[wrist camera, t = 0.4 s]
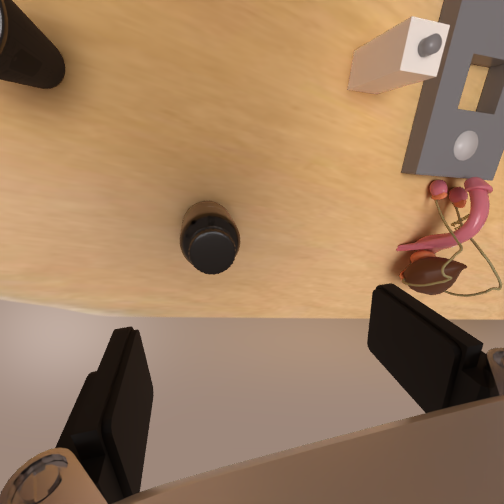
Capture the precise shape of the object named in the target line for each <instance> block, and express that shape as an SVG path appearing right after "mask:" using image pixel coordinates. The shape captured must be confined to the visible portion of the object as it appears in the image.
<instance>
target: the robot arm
mask: <svg viewBox="0 0 504 504" xmlns="http://www.w3.org/2000/svg"><path fill="white" fill-rule="evenodd" d="M367 344H368V347H369V350H370V351H371V352H372V353H373V354H374V355H375V357H376V358H377V359H378V360H379V361H380V362H381V363H382V365H383V366H384V367H385V368H386V369H387V370H388V371H389V372H390V373H391V375H392V376H393V377H394V378H395V379H396V380H397V381H398V382H399V384H400V385H401V386H402V387H403V388H404V389H405V390H406V391H407V392H408V394H409V395H410V396H411V397H412V398H413V399H414V400H415V401H416V403H417V404H418V405H419V406H420V407H421V408H422V409H423V410H424V411H425V414H421V415H418V416H414V417H410V418H406V419H402V420H398V421H394V422H390V423H386V424H382V425H379V426H375V427H371V428H367V429H364V430H360V431H356V432H352V433H348V434H345V435H340V436H337V437H333V438H330V439H325V440H322V441H318V442H314V443H310V444H307V445H303V446H299V447H295V448H291V449H288V450H284V451H281V452H277V453H273V454H269V455H266V456H262V457H258V458H255V459H251V460H247V461H243V462H240V463H236V464H232V465H228V466H225V467H221V468H218V469H215V470H211V471H207V472H204V473H200V474H197V475H193V476H190V477H186V478H183V479H180V480H176V481H173V482H169V483H166V484H163V485H160V486H157V487H154V488H151V489H148V490H145V491H142V492H140V486H141V478H142V472H143V464H144V457H145V451H146V444H147V436H148V430H149V422H150V416H151V409H152V402H153V385H152V381H151V377H150V373H149V369H148V365H147V360H146V356H145V352H144V348H143V344H142V340H141V336H140V332H139V330H134V329H133V328H132V327H126V328H120V329H115V330H114V331H113V334H112V336H111V338H110V341H109V343H108V346H107V348H106V351H105V353H104V355H103V358H102V360H101V363H100V365H99V367H98V370H97V371H95V372H91V373H90V374H89V375H88V376H87V378H86V380H85V383H84V385H83V387H82V389H81V391H80V394H79V396H78V398H77V400H76V403H75V405H74V407H73V409H72V412H71V414H70V416H69V419H68V421H67V423H66V425H65V427H64V430H63V432H62V434H61V436H60V439H59V441H58V443H57V445H56V447H55V448H54V449H50V450H47V451H45V452H42V453H40V454H38V455H36V456H35V457H33V458H31V459H30V460H28V461H27V462H26V463H25V464H24V465H23V466H21V467H20V468H19V469H18V470H17V471H16V472H15V473H14V474H13V475H12V476H11V478H10V479H9V480H8V482H7V483H6V485H5V486H4V488H3V490H2V491H1V494H0V504H504V348H493V349H490V350H489V351H488V352H487V354H485V353H484V352H482V351H481V350H482V347H483V343H482V342H480V341H479V340H477V339H476V338H474V337H473V336H471V335H470V334H468V333H467V332H465V331H464V330H462V329H461V328H459V327H458V326H456V325H455V324H453V323H452V322H450V321H449V320H447V319H446V318H444V317H443V316H441V315H440V314H438V313H437V312H435V311H434V310H432V309H431V308H429V307H427V306H426V305H424V304H423V303H421V302H420V301H418V300H417V299H415V298H414V297H412V296H411V295H409V294H408V293H406V292H405V291H403V290H402V289H400V288H399V287H397V286H396V285H394V284H392V283H391V284H384V285H378V286H377V287H376V289H375V290H374V291H373V294H372V304H371V313H370V323H369V332H368V342H367Z"/></svg>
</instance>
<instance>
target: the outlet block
mask: <svg viewBox="0 0 504 504" xmlns="http://www.w3.org/2000/svg"><path fill="white" fill-rule="evenodd" d="M439 23H443V24H448V25H450V27H449V31H448V35H447V39H446V42H445V46H444V50H443V54H442V58H441V62H440V65H439V69H438V73H437V77H434V78H431V79H427V80H424V83H423V87H422V91H421V95H420V99H419V103H418V107H417V111H416V115H415V119H414V123H413V127H412V131H411V135H410V139H409V143H408V147H407V151H406V155H405V159H404V163H403V167H402V171H401V173H409V174H419V175H431V176H443V177H455V178H471V177H480V178H482V179H483V180H492V181H493V178H494V175H495V172H496V170H497V167H498V164H499V161H500V158H501V156H502V153H503V150H504V0H444V2H443V6H442V10H441V14H440V18H439ZM470 64H474V65H480V66H485V67H490V68H489V71H488V75H487V78H486V81H485V84H484V87H483V91H482V94H481V97H480V100H479V103H478V107H477V110H476V112H474V111H467V110H461V109H457V108H458V105H459V102H460V98H461V95H462V91H463V88H464V84H465V81H466V78H467V74H468V71H469V67H470Z"/></svg>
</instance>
